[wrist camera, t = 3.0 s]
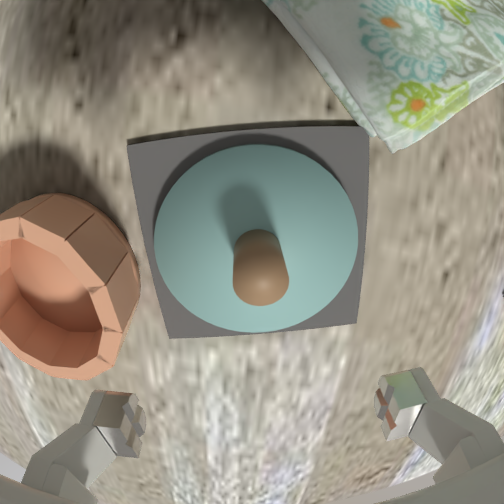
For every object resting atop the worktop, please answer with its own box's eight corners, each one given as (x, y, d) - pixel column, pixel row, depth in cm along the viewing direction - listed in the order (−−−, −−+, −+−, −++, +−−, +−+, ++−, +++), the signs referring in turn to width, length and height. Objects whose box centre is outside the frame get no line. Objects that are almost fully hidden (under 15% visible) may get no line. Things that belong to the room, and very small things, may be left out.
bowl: (-10, 207, 18) (-51, 232, 14) (119, 179, 18) (83, 204, 14) (38, 333, 23) (14, 371, 19) (157, 335, 23) (143, 383, 19)
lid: (141, 157, 17) (113, 173, 13) (355, 139, 17) (387, 150, 13) (177, 330, 23) (167, 374, 19) (347, 315, 23) (365, 356, 19)
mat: (128, 144, 17) (126, 145, 17) (366, 126, 17) (368, 126, 17) (170, 335, 23) (169, 338, 23) (355, 320, 23) (356, 323, 23)
